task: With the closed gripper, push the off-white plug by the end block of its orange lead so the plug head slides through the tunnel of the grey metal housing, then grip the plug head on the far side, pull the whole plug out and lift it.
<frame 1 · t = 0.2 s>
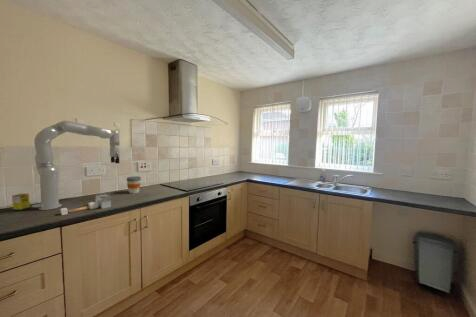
hand: (115, 162, 181), 31 cm above the counter, tool pointing down, fingers open, 9 cm apart
reusable coffee cup: (134, 192, 198), on the counter
supplement box: (21, 209, 143), on the counter
housing: (103, 205, 155), on the counter
plug: (93, 207, 149), on the counter
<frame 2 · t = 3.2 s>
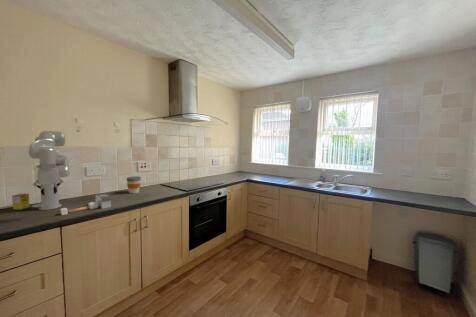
hand: (49, 193, 129), 15 cm above the counter, tool pointing down, fingers open, 4 cm apart
nothing on the counter moved.
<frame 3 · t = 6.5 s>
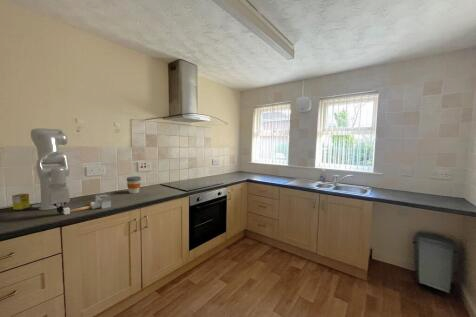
hand: (60, 212, 134), 2 cm above the counter, tool pointing down, fingers closed
plug: (95, 207, 150), on the counter, touching gripper
everything else where it was.
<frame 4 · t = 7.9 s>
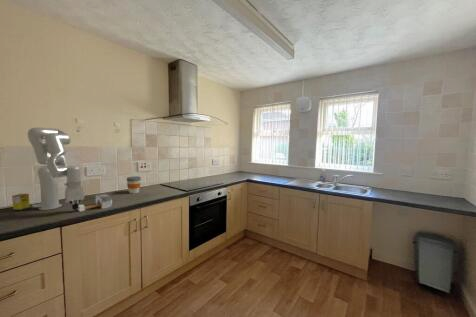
hand: (75, 209, 141), 2 cm above the counter, tool pointing down, fingers closed
plug: (107, 204, 157), on the counter, touching gripper
everything else where it was.
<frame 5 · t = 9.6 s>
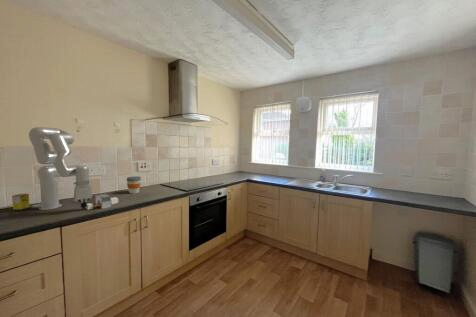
hand: (83, 207, 145), 2 cm above the counter, tool pointing down, fingers closed
plug: (113, 203, 162), on the counter, touching gripper
everything else where it was.
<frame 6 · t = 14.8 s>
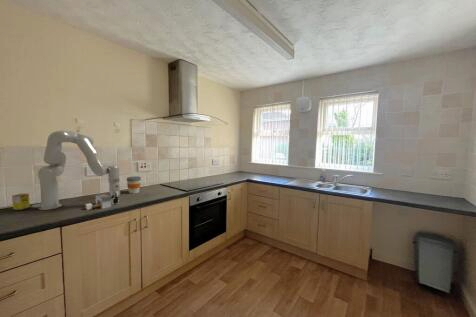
hand: (114, 202, 161), 1 cm above the counter, tool pointing down, fingers open, 5 cm apart
plug: (114, 203, 161), on the counter, touching gripper
everything else where it was.
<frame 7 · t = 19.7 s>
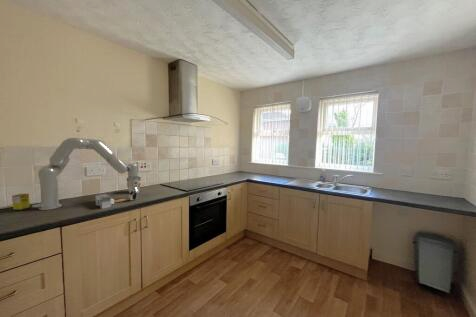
hand: (133, 198, 172), 1 cm above the counter, tool pointing down, fingers closed on plug, 4 cm apart
plug: (132, 199, 172), on the counter, touching gripper
everything else where it was.
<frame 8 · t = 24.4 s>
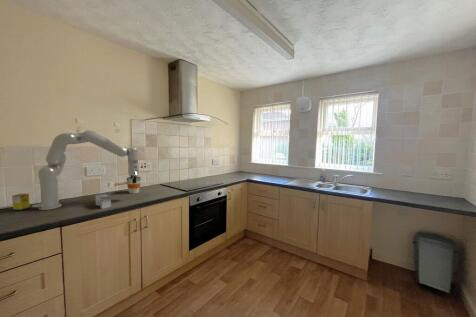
hand: (133, 182, 171), 15 cm above the counter, tool pointing down, fingers closed on plug, 4 cm apart
plug: (132, 183, 171), point 14 cm above the counter, touching gripper
everything else where it was.
at the end: plug inside the target area on the housing (1.1 cm from its centre), point 14.5 cm above the housing's base; the gripper is holding plug; plug moved 32.5 cm from its start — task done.
